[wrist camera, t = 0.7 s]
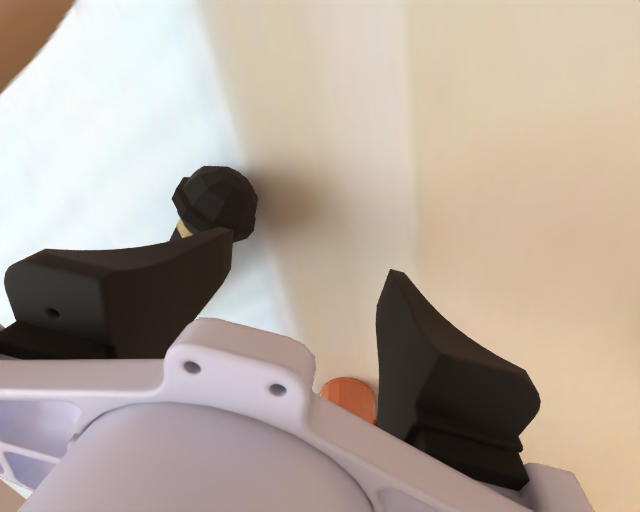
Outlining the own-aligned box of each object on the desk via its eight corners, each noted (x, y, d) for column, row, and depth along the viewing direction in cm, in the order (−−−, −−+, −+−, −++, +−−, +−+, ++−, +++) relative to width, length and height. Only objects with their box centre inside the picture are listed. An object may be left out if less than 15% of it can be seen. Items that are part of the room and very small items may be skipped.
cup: (347, 428, 31) (346, 504, 25) (307, 398, 30) (296, 469, 24) (385, 400, 30) (396, 475, 23) (345, 368, 29) (344, 435, 22)
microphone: (170, 327, 32) (274, 180, 24) (151, 378, 28) (271, 220, 19) (114, 308, 30) (206, 137, 21) (83, 359, 26) (184, 169, 17)
